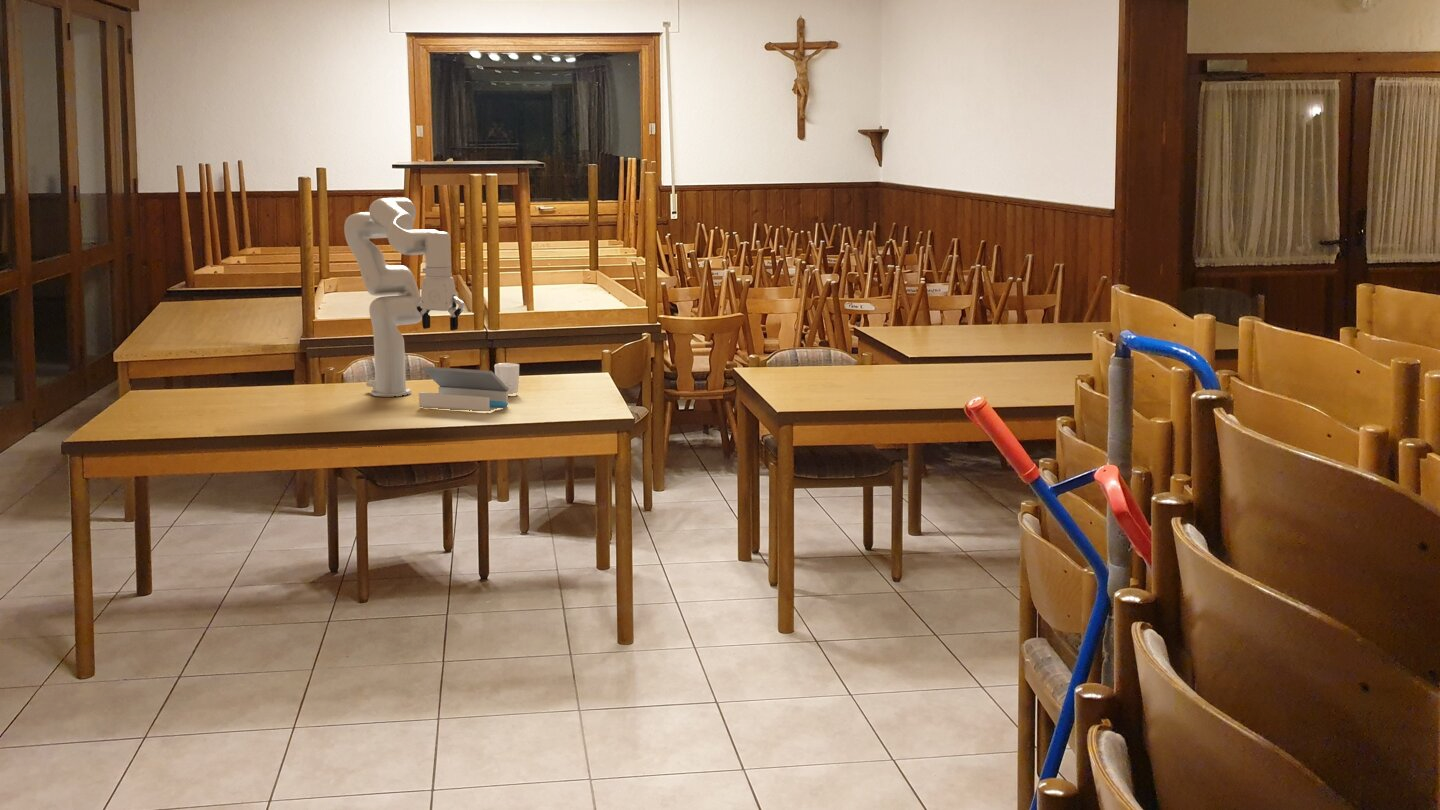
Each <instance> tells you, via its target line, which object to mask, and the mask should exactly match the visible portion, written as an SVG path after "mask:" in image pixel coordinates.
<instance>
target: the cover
mask: <svg viewBox="0 0 1440 810" xmlns="http://www.w3.org/2000/svg"><path fill="white" fill-rule="evenodd" d="M421 370H422V371H423V372H424V373H425V374H426V375H428V377H430V378H431V379H432V381H433V382H435V383H436V384H437V385H438V387H453V388H466V389H480V390H494V391H508V389H509V388H508V387H507V386H506V385H505V384H504V383H503V382H502V381H501V380H500V379H499V378H498V377H497V376H496V375H495V372H493V371H492V370H483V369H482V370H481V369H471V368H470V369H469V368H468V369H466V368H454V367H440V366H437V367H436V366H424V365H422V368H421Z"/></svg>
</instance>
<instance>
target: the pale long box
mask: <svg viewBox="0 0 1440 810" xmlns="http://www.w3.org/2000/svg"><path fill="white" fill-rule="evenodd" d="M489 400H491V401H504V402H506V403H507V405H508V406H509V397H508V391H494V390H480V389H466V388H453V387H440V386H438V392H423V391H419V392H418V408H419V407H423V408H438V409H450V410H469V411H470V410H472V411H491V410H494V409H497V407H490V403H489Z"/></svg>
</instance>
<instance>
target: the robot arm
mask: <svg viewBox="0 0 1440 810" xmlns="http://www.w3.org/2000/svg"><path fill="white" fill-rule="evenodd" d="M416 216H417V208H416V206H415V204H414V203H413V202H412V200H410V199H409V198H407V197H382V198H378V199H376V200H374V201H372V202H371V204H370V205H369V209H368V211H365V212H364V211H363V212H362V211H361V212H356V213H352V214H350V215H349V216H348V217H346V218H345V221H344V227H343V229H344V231H343V232H344V237H345V240H346V244H347V245H348V247H349V250H350V251H351V252H352V254H353V256H354V258H355V260H356V262H357V265H358V268H359V271H360V275H361V278H362V280H363V283H364V286H365V288H366V291H367V293H368V294H369V295H371V296H373V297H375V296H376V297H377V298H375V299H373V300H372V301H371V302H370V305H369V310H368V311H369V318H370V322H371V325H372V326H371V327H372V333H373V335H372V336H373V349H374V350H373V351H374V371H375V372H374V374H375V375H374V377H375V379H371V380H370V379H369V380H367V381H366V383H365V385H366V387H370V388H371V387H372V390H370V395H371V396H373V397H381V398H382V397H383V398H390V397H391V398H392V397H394V396H396V397H403V396H402V395H404V396H407V394H408V395H410V394H411V393H412V390H411V388H407V381H406V354H405V353H406V352H405V350H406V349H405V339H404V336H403V334H402V333H401V331H400V330H399V329H398V327H399V326H406V325H415V324H418V323H420V322H421V325H422V328H423V330H426V329H430V328H431V315H430V312H431V311H436V312H437V311H439V312H440V311H441V312H444V311H445V312H448V313H449V315H450V316H451V317H449V328H450V329H449V330H450V331H455V330H458V329H459V328H458V327H459V317H460V315H461V313H462V312H463V311H464V309H465V307H466V303H465V302H464V301H463V300H462V299H460V298H458V297H457V292H456V284H455V279H454V277H453V276H452V257H451V255H452V252H451V235H450V233H449V232H447V231H439V230H437V229H431V228H430V229H413V228H414V227H415V225H414V223H415V220H416ZM370 239H387V241H388V244H389V245H390V246H391V248H392V249H394V250H395V251H397V252H398V253H399V254H401V255H405V256H416V255H417V256H418V255H424V257H425V267H424V268H422V273H425V276H423V279H422V285H421V292H420V290H419V287H418V285H417V281H416V278H415V275H414V274H413V272H412V270H411V269H410V268H409V267H407V266H406V265H398V264H396V265H389V264H387V262H386V259H385V257H384V255H383V251H381V249H380V248H379V247H378V246H377V245H376V244H375V243H373V242H372V241H370ZM420 293H421V294H420ZM457 305H458V307H457ZM394 398H395V397H394Z"/></svg>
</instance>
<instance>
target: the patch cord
mask: <svg viewBox="0 0 1440 810" xmlns="http://www.w3.org/2000/svg"><path fill="white" fill-rule="evenodd" d="M489 403H490V407H497V408H505V409H507V408H506V407H507V403H506V402H504V401H491V400H489Z"/></svg>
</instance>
